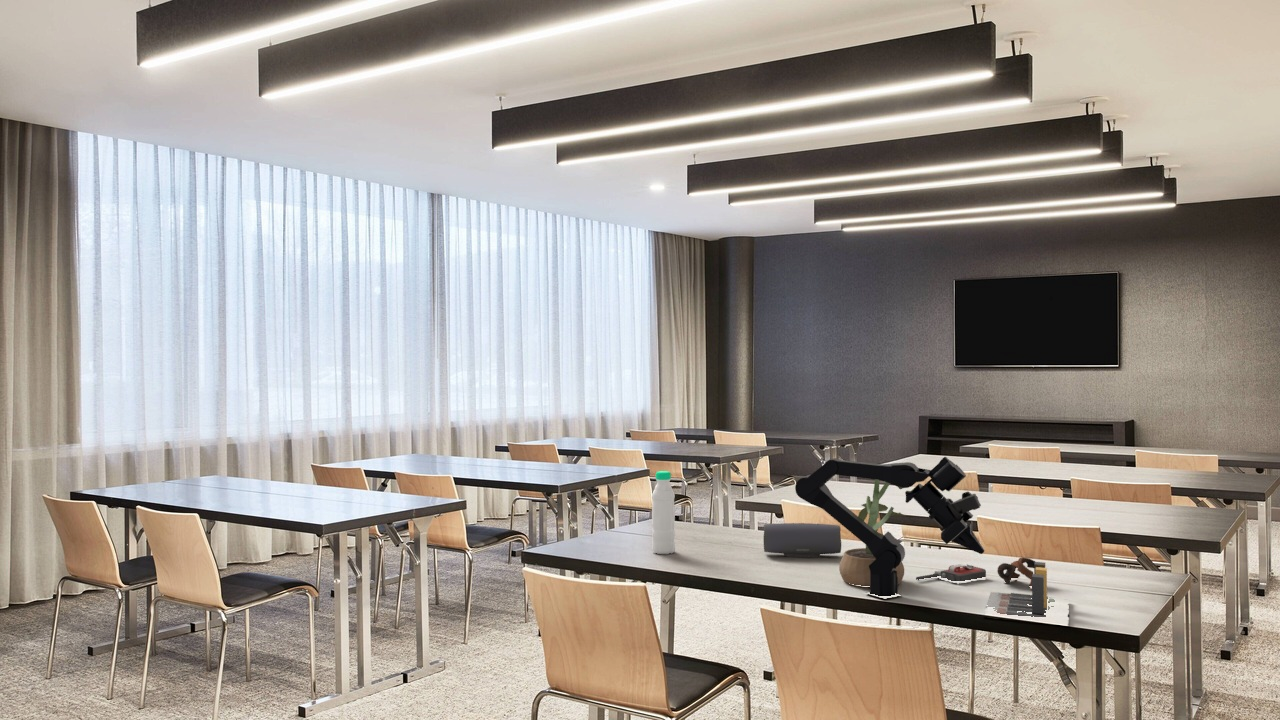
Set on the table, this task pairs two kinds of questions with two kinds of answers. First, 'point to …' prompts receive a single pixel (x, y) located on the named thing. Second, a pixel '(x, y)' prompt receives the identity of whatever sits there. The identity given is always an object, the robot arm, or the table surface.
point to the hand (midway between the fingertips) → (983, 552)
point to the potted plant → (858, 560)
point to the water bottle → (663, 515)
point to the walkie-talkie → (958, 573)
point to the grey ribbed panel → (1022, 599)
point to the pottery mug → (1012, 567)
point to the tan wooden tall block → (1044, 572)
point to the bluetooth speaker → (802, 539)
